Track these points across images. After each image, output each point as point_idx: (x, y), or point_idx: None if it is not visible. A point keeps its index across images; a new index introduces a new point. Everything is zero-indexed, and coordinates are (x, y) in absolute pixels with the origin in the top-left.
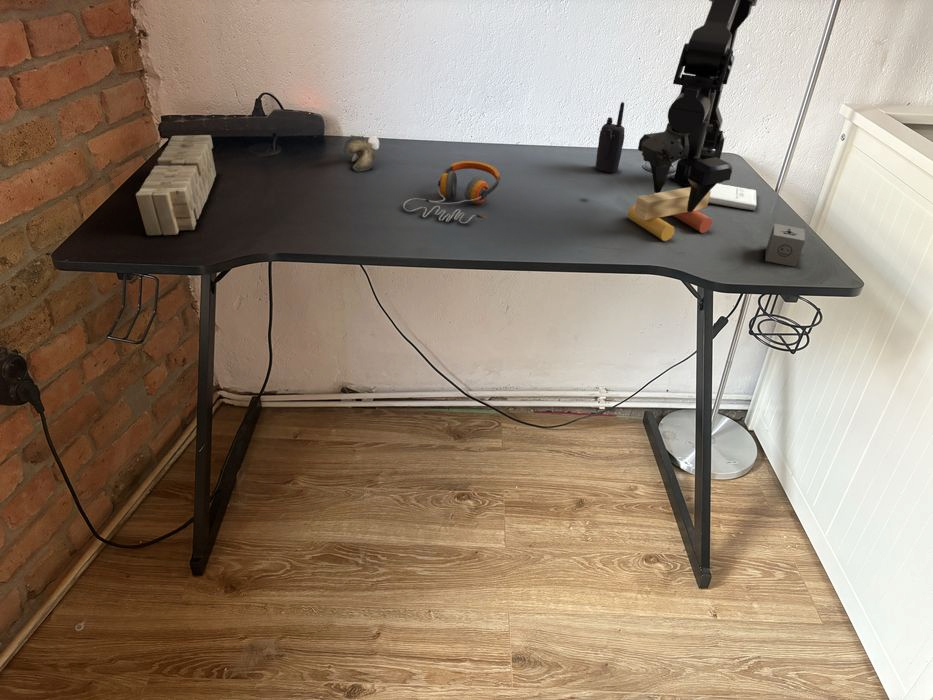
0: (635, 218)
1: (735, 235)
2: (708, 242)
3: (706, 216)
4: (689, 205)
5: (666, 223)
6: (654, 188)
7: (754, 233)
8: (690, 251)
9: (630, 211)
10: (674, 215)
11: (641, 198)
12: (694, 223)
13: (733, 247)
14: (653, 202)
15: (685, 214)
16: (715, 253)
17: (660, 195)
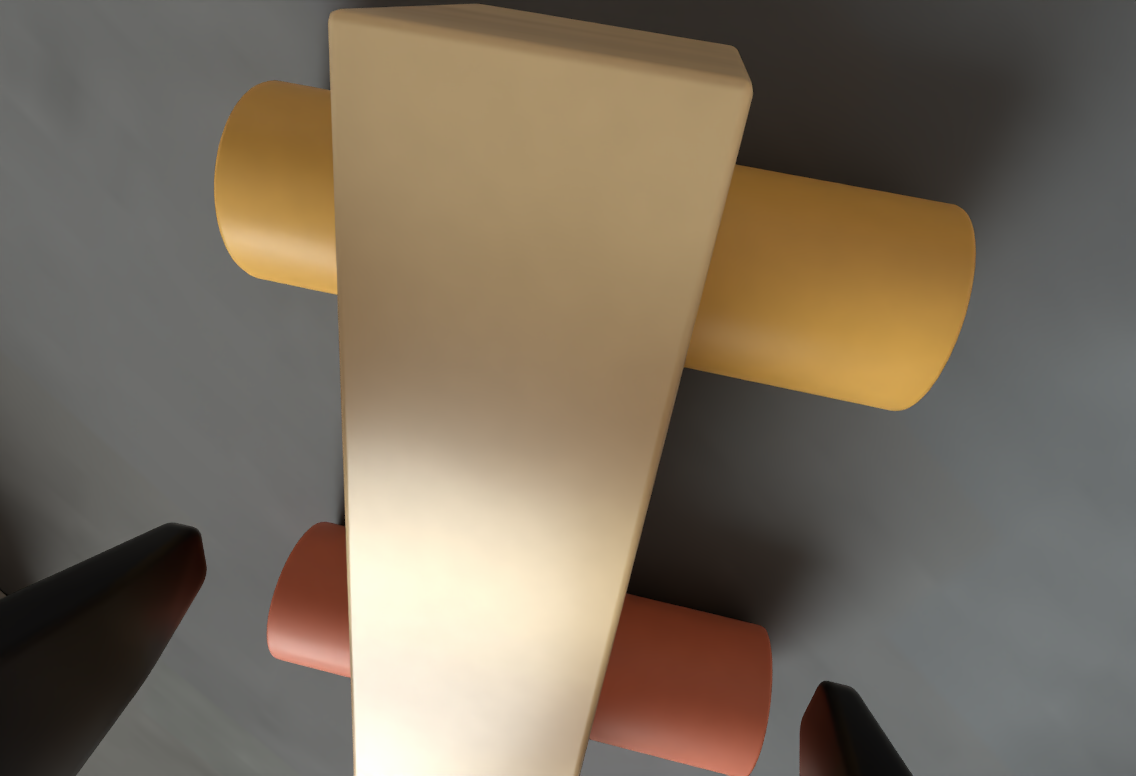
0: (780, 173)
1: (238, 648)
2: (194, 446)
3: (300, 659)
4: (83, 569)
5: (280, 229)
6: (873, 731)
7: (230, 729)
8: (80, 193)
9: (926, 218)
10: (630, 596)
11: (589, 69)
12: None
13: (90, 511)
14: (337, 194)
15: None
16: (21, 340)
17: (508, 534)
